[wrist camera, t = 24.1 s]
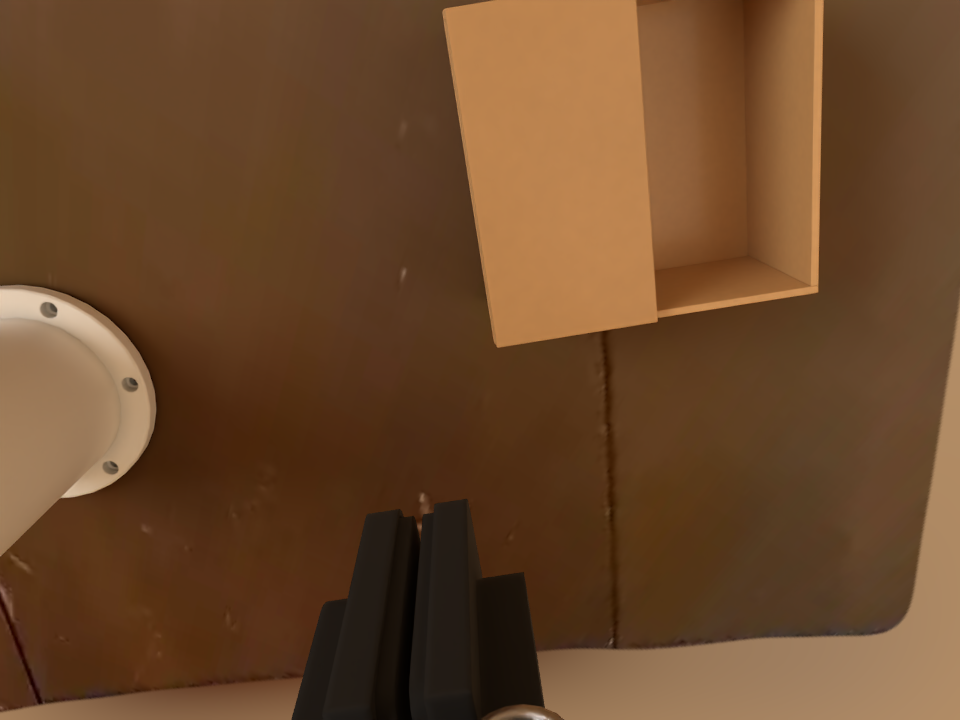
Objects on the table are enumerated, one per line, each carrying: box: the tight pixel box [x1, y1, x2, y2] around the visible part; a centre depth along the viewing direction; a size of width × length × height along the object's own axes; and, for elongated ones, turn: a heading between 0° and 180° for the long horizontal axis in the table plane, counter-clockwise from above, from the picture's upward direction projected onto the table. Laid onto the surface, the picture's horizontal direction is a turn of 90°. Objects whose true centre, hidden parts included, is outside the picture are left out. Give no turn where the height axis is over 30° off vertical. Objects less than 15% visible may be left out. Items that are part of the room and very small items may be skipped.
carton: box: [443, 0, 824, 344], centre depth 32 cm, size 15×14×7 cm
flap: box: [444, 0, 658, 348], centre depth 28 cm, size 7×14×1 cm, turn 9°
